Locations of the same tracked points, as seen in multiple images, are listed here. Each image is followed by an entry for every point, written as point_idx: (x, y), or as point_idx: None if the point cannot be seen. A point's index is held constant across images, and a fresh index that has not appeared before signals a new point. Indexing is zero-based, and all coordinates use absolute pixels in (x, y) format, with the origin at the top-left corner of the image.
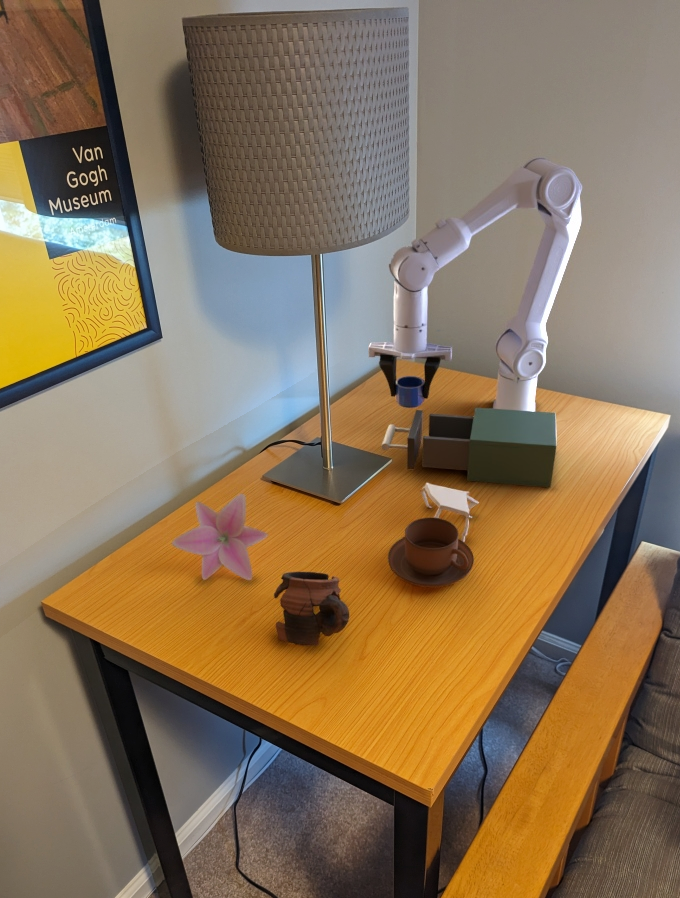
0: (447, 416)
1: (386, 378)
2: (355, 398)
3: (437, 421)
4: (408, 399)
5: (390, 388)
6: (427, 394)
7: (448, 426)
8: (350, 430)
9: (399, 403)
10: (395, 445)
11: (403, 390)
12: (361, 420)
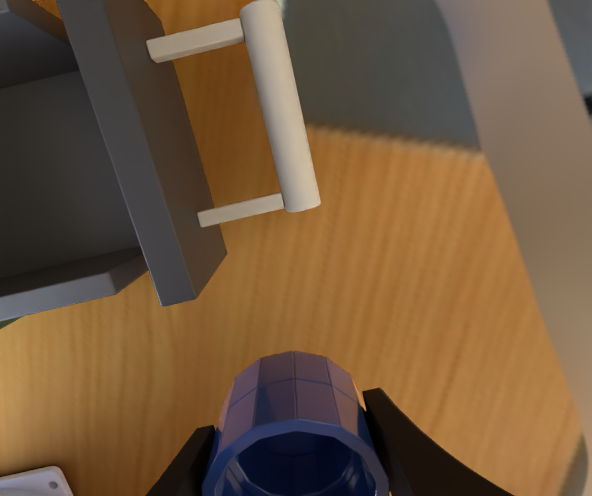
0: (11, 296)
1: (452, 456)
2: (532, 455)
3: (80, 271)
4: (273, 374)
5: (397, 412)
6: (185, 445)
7: (43, 277)
8: (481, 256)
9: (324, 358)
10: (211, 28)
11: (305, 405)
12: (466, 333)
